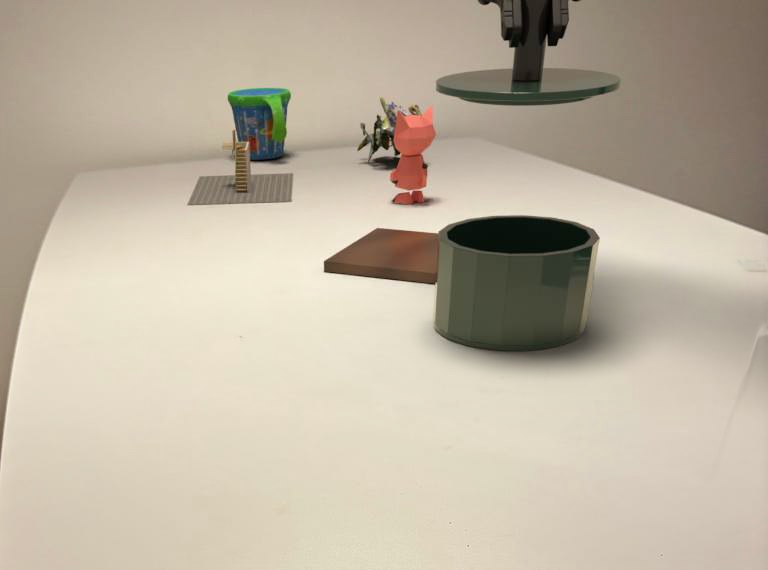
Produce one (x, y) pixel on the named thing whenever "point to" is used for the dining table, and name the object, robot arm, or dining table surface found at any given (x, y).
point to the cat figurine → (412, 154)
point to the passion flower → (385, 128)
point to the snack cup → (261, 120)
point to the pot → (514, 281)
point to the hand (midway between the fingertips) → (535, 38)
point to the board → (389, 256)
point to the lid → (529, 73)
